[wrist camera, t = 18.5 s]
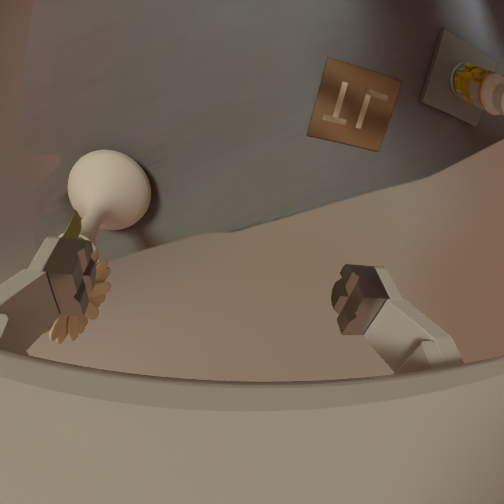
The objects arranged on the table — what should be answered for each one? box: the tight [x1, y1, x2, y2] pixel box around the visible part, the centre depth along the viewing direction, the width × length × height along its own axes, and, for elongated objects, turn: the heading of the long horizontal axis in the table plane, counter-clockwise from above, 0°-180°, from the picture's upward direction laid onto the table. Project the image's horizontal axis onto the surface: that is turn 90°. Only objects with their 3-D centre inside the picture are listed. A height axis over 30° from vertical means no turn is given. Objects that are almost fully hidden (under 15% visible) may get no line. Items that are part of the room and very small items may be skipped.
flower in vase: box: [43, 150, 151, 344], centre depth 29 cm, size 13×11×25 cm
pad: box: [419, 28, 498, 128], centre depth 31 cm, size 11×11×1 cm
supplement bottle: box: [450, 62, 504, 115], centre depth 27 cm, size 5×5×10 cm
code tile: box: [307, 57, 402, 151], centre depth 35 cm, size 10×10×1 cm
